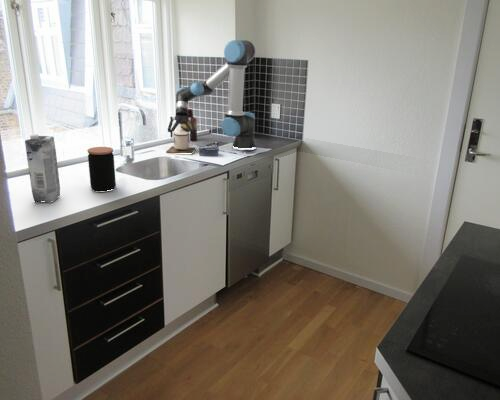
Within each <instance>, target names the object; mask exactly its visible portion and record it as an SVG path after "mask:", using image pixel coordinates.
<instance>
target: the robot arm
mask: <svg viewBox="0 0 500 400" xmlns="http://www.w3.org/2000/svg"><path fill="white" fill-rule="evenodd" d="M223 55H224V58H225V59H226V62H225V63H224V64H222V66H221V67H219V68H218V69H217V70H216V71H215V72H213V74H211V75H210V76H209V77H208V78H207V79H206V80H205V81H204V82H202V83H201V82H199V81H196V82H194V83H191V85H189V86H187V87H184V86H182V87H178V88H177V89H176V94H175V116H174V117H173V116H170V117H169V119H170V120H169V123H168V127H167V132H168V133H170V138H171V140H172V143H173V144H174V132H175V130H176V129H177V127H178V126H179V125H181V124H185V125H186V127H187V128H188V130H189V144H190V143H191V142H190V138H192V133H195V127H194V124H193V117H194V116H193V117H191V118H189V117H188V109H189V102H190V101H192V100H193V99H195V98H198V97H204V96H206V97H207V96H210V95H212V94H213V93H214V92H215V89H217V88H218V87H219V86H220V85H221V84H222V83H224V82H225V81H226V80H227V79H228V78H229V79H228V98H227V99H228V100H227V101H228V103H227V111H226V112H225V113H224V114H225V115H224V119H223V120H222V121H221V127H220V128H221V131H222V132H223V133H224V135H226V136H227V137H230V138H231V137H232V138H233V137H234V139H233V143H232V147H233V146H234V147H238V148H252V147H256V148H257V143H256V139H255V127H256V126H255V123H256V121H255V120H256V116H255V113H253V112H248V111H243V108H244V107H243V106H244V105H243V104H244V91H245V90H244V89H245V86H244V85H245V71H246V70H245V69H246V68H247V67H248V64H249V62H251V61H252V60H253V59H254V58H255V56H256V48H255V45H254V44H253V42H252V41H249V40H247V39H246V40H245V39H244V40H242V39H235V40H230V41H228V42H227V44H225V47H224V50H223ZM188 120H189V121H190V122H191V126H192V129H191V128H190V126H189V124H188V123H187V121H188ZM174 121H175V123H174ZM173 123H174V124H173Z"/></svg>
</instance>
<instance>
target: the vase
mask: <svg viewBox="0 0 500 400" xmlns="http://www.w3.org/2000/svg"><path fill="white" fill-rule="evenodd" d="M188 117H189V118H191V117H193V124H194V127H195V133H192V138H190V141H194V142H197V141H196V140H198V128H197V127H198V120H197V117H194V110H193V109H191V108H190V109H189V108H188ZM187 123H188V124H189V126H190V128H191V129H192V126H191V122H190V121H189V120H188V121H187ZM180 128H182V129H183V130H184V131H186V132H188V133H189V130H188V128H187V127H186V125H185V124H180Z"/></svg>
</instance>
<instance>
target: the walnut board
mask: <svg viewBox="0 0 500 400" xmlns="http://www.w3.org/2000/svg"><path fill="white" fill-rule="evenodd" d="M195 148H196V147H192V146H191V147H190V146H189V148H188V149H176V148H174V145H171V146H170V148H168V150H166V154H167V153H192V152H193V151H194V150H195ZM195 151H196V150H195ZM195 151H194V152H195Z"/></svg>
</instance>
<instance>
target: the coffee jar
mask: <svg viewBox="0 0 500 400" xmlns="http://www.w3.org/2000/svg"><path fill="white" fill-rule="evenodd" d="M113 152H114V149H113V148H112V147H108V146H95V147H94V146H93V147H90V148H88V149H87V153H88V154H87V159H88V160H87V162H88V171H89V183H90V188H91V190H92V191H93V190H94V191H93V192H95V191H107V190H111V189H114V190H115V188H116V187H117V185H116V183H117V182H116V170H115V167H116V166H115V158H114V157H115V156H114V153H113Z"/></svg>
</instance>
